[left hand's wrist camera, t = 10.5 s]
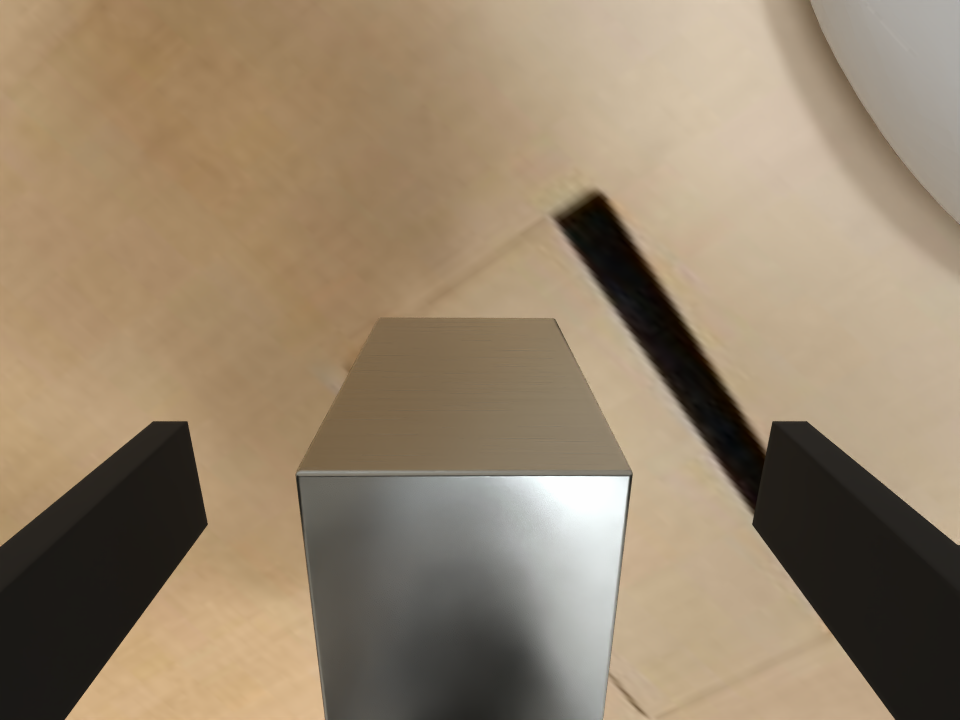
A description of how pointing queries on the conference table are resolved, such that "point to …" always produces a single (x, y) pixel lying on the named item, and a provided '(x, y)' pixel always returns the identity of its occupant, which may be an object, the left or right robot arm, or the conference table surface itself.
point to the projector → (905, 80)
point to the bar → (464, 527)
